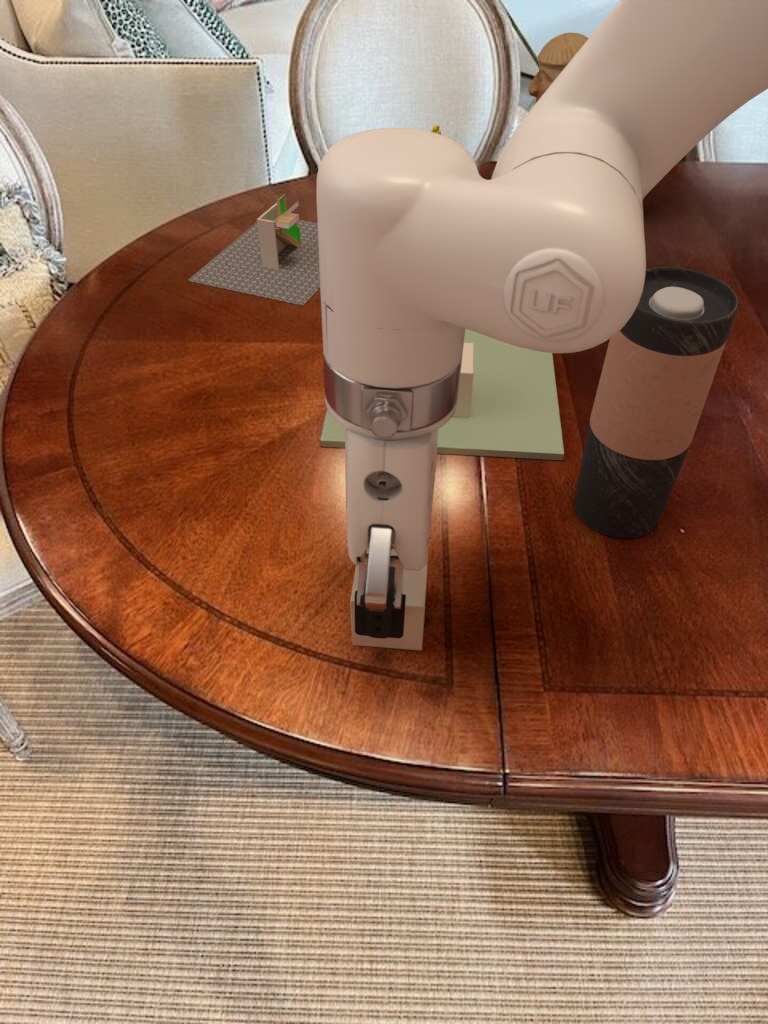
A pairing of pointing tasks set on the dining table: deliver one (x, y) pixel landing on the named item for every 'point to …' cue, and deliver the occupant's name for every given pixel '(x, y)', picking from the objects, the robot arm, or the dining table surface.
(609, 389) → the travel mug
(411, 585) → the tile
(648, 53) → the robot arm
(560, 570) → the dining table surface
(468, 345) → the tile
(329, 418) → the board
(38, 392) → the dining table surface
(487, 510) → the dining table surface
